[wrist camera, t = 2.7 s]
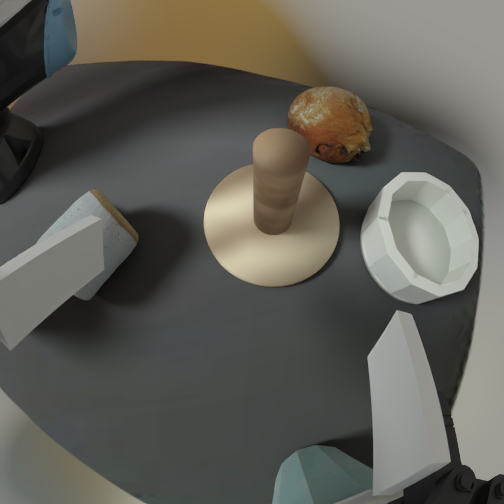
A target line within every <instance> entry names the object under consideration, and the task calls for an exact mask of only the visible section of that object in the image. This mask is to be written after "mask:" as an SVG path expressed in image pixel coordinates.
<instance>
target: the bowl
mask: <svg viewBox="0 0 504 504" xmlns="http://www.w3.org/2000/svg"><path fill="white" fill-rule="evenodd" d="M360 247H361V252H362V256H363V260H364V263H365V265H366V268H367V270H368V272H369V273H370V275H371V277H372V278H373V280H374V281H375V282H376V284H377V285H378V286H379V287H380V288H381V289H382V290H383V291H384V292H385V293H386V294H388V295H389V296H391V297H392V298H394V299H396V300H398V301H401V302H404V303H409V304H420V303H424V302H427V301H431V300H434V299H438V298H441V297H444V296H447V295H450V294H453V293H455V292H458V291H461V290H464V288H465V287H466V285H467V284H468V282H469V280H470V279H471V277H472V276H473V274H474V272H475V271H476V269H477V265H478V247H479V238H478V235H477V232H476V229H475V226H474V223H473V220H472V217H471V214H470V212H469V209H468V208H467V207H466V205H465V204H464V203H463V202H462V200H461V199H460V198H459V197H458V195H457V194H456V193H455V192H454V190H453V189H452V188H451V187H450V186H449V185H447V184H445V183H444V182H442V181H440V180H438V179H437V178H435V177H433V176H431V175H429V174H428V173H426V172H401V173H400V174H399V175H398V176H397V177H395V178H394V179H393V180H392V181H391V182H389V183H388V184H387V185H386V186H385V187H383V189H382V190H381V191H380V193H379V194H378V195H377V197H376V198H375V199H374V201H373V202H372V203H371V205H370V206H369V207H368V211H367V213H366V215H365V217H364V219H363V222H362V226H361V231H360Z"/></svg>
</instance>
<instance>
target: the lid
mask: <svg viewBox="0 0 504 504" xmlns="http://www.w3.org/2000/svg"><path fill="white" fill-rule="evenodd" d="M309 157H310V146H309V144H308V142H307V140H306V139H305V138H304V137H303V136H302V135H300V134H299V133H297V132H295V131H293V130H290V129H286V128H273V129H269V130H266V131H264V132H262V133H261V134H259V135H258V136H257V138H256V139H255V141H254V144H253V164H251V165H248V166H245V167H242V168H240V169H238V170H236V171H234V172H232V173H231V174H229V175H228V176H227V177H225V178H224V179H223V180H222V181H221V182H220V183H219V184H218V185H217V187H216V188H215V189H214V191H213V192H212V194H211V196H210V198H209V200H208V202H207V205H206V209H205V214H204V230H205V236H206V239H207V242H208V245H209V247H210V249H211V251H212V253H213V255H214V256H215V258H216V259H217V261H218V262H219V263H220V264H221V265H222V267H224V268H225V269H226V270H227V271H228V272H229V273H231V274H232V275H234V276H235V277H237V278H239V279H241V280H243V281H245V282H247V283H250V284H253V285H257V286H262V287H284V286H289V285H293V284H296V283H299V282H302V281H304V280H305V279H307V278H309V277H311V276H312V275H314V274H315V273H316V272H317V271H319V270H320V269H321V268H322V267H323V266H324V264H325V263H326V262H327V261H328V259H329V258H330V256H331V255H332V253H333V251H334V249H335V247H336V244H337V241H338V237H339V228H340V224H339V215H338V210H337V208H336V205H335V202H334V200H333V198H332V196H331V195H330V193H329V192H328V190H327V189H326V188H325V187H324V185H323V184H322V183H321V182H320V181H319V180H317V179H316V178H315V177H314V176H312V175H311V174H309V173H308V172H306V168H307V164H308V161H309Z"/></svg>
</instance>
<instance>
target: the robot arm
mask: <svg viewBox="0 0 504 504" xmlns="http://www.w3.org/2000/svg"><path fill="white" fill-rule="evenodd" d="M76 51H77V33H76V25H75V19H74V14H73V10H72V5H71V1H70V0H0V203H2V202H4V201H5V200H7V199H8V198H9V197H10V196H11V195H12V194H13V193H14V192H15V191H16V190H17V189H18V188H19V187H20V185H21V184H22V183H23V182H24V180H25V179H26V177H27V176H28V174H29V173H30V171H31V170H32V168H33V166H34V164H35V162H36V160H37V158H38V156H39V154H40V151H41V148H42V143H43V135H42V133H41V131H40V130H39V129H38V128H37V126H36V125H35V124H34V123H32V122H30V121H28V120H26V119H24V118H22V117H21V116H19V115H17V114H15V113H13V112H11V111H10V110H9V108H8V107H7V106H8V105H10V104H11V103H12V102H14V101H15V100H16V99H17V98H19V97H20V96H21V95H23V94H24V93H25V92H27V91H28V90H30V89H31V88H32V87H34V86H35V85H37V84H38V83H40V82H41V81H43V80H44V79H46V78H50V77H51V76H52V74H54V73H55V72H57V71H58V70H60V69H61V68H63V67H64V66H66V65H67V64H69V63H70V62H71V61H72V60H73V58H74V57H75V55H76ZM103 270H104V256H103V233H102V218H99V217H96V216H93V215H89V216H87V217H86V218H84V219H82V220H80V221H78V222H76V223H74V224H72V225H70V226H68V227H66V228H64V229H63V230H61V231H59V232H57V233H55V234H53V235H52V236H50V237H48V238H46V239H45V240H43V241H41V242H39V243H38V244H36V245H34V246H33V247H31V248H29V249H28V250H26V251H24V252H23V253H21V254H19V255H17V256H15V257H14V258H12V259H11V260H9V261H8V262H7V263H4V264H3V265H1V267H0V341H1V342H2V343H3V344H4V345H5V346H6V347H7V348H8V349H9V350H10V351H11V350H12V349H13V348H14V347H15V346H16V345H17V344H18V343H19V342H20V341H21V340H22V339H23V338H25V337H26V336H27V335H28V334H29V333H30V332H31V331H32V330H33V329H34V328H35V327H37V326H38V325H39V324H40V323H41V322H42V321H43V320H44V319H45V318H47V317H48V316H49V315H50V314H51V313H52V312H53V311H55V310H56V309H57V308H58V307H59V306H60V305H62V304H63V303H64V302H65V301H66V300H68V299H69V298H70V297H71V296H72V295H74V294H75V293H76V292H77V291H78V290H80V289H81V288H82V287H83V286H85V285H86V284H87V283H88V282H89V281H91V280H92V279H93V278H94V277H96V276H97V275H98V274H100V273H101V272H102V271H103ZM367 358H368V367H369V378H370V389H371V403H372V421H373V494H372V496H381V495H393V494H395V493H397V492H399V491H401V490H403V496H402V497H400V498H398V499H396V500H393V501H391V502H389V503H387V504H504V475H501V474H499V475H497V476H495V477H494V478H492V479H491V480H489V481H484V480H480V479H476V477H475V474H474V472H473V471H472V470H471V468H470V467H468V466H466V465H462V464H461V460H460V454H459V448H458V443H457V438H456V433H455V428H454V427H453V425H454V424H453V419H452V418H451V411H450V407H449V403H448V401H447V400H446V398H445V396H444V395H443V393H442V392H440V391H436V387H435V384H434V380H433V376H432V373H431V370H430V366H429V363H428V360H427V357H426V353H425V350H424V347H423V344H422V341H421V338H420V335H419V333H418V330H417V327H416V324H415V322H414V319H413V316H412V314H409V313H406V312H402V311H399V310H397V311H396V312H395V314H394V316H393V317H392V319H391V321H390V322H389V324H388V326H387V327H386V329H385V330H384V332H383V334H382V335H381V337H380V338H379V340H378V342H377V343H376V345H375V346H374V348H373V349H372V351H371V352H370V354H369V355H368V357H367Z"/></svg>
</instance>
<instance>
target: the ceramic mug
mask: <svg viewBox="0 0 504 504" xmlns="http://www.w3.org/2000/svg"><path fill="white" fill-rule="evenodd" d="M89 215H93V216H96V217H99V218H102V233H103V256H104V270H103V271H102V272H101V273H100V274H98V275H97V276H96V277H94V278H93V279H92V280H91V281H89V282H88V283H87V284H86V285H85V286H83V287H82V288H81V289H80V290H78V291H77V292H76V293H75V294H74V296H76V297H78V298H80V299H82V300H90V299H91V298H92V297H93V296H94V295H95V293H96V292H97V291H98V290H99V288H100V287H101V286H102V285H103V283H104V282H105V281H106V280H107V279H108V278H109V277H110V276H111V275H112V273H113V272H114V271H115V270H116V269H117V267H118V266H119V265H120V264H121V263H122V262H123V261H124V260H125V259H126V258H127V257H128V256H129V255H130V253H131V252H132V250H133V249H134V248H135V246H136V244H137V243H138V234H137V232H136V231H135V230H134V228H133V227H132V226H131V225H130V224H129V223H128V221H127V220H126V219H125V218H124V217H123V216H122V215H121V213H120V212H119V211H118V210H117V209H116V208H115V207H114V206H113V204H112V203H111V202H110V201H109V200H108V199H107V197H106V196H105V195H104V194H103V193H102V192H101V191H100V190H98V189H93V190H90V191H88V192H87V193H86V194H84V195H83V196H82V197H80V198H79V199H78V200H77V201H76V202H75V203H74V204H73V205H72V206H71V207H70V208H69V209H68V210H67V211H66V212H65V213H64V214H63V215H62V216H61V217H60V218H59V219H58V220H57V221H56V222H55V223H54V224H53V225H52V226H51V227H50V228H49V229H48V230H47V231H46V232H45V233H44V234H43V235H42V237H41V238H40V239H39V240H38V241H37V243H36V244H38V243H39V242H41V241H43V240H45V239H46V238H48V237H50V236H52V235H53V234H55V233H57V232H59V231H61V230H63V229H64V228H66V227H68V226H70V225H72V224H74V223H76V222H78V221H80V220H82V219H84V218H86V217H87V216H89Z"/></svg>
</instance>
